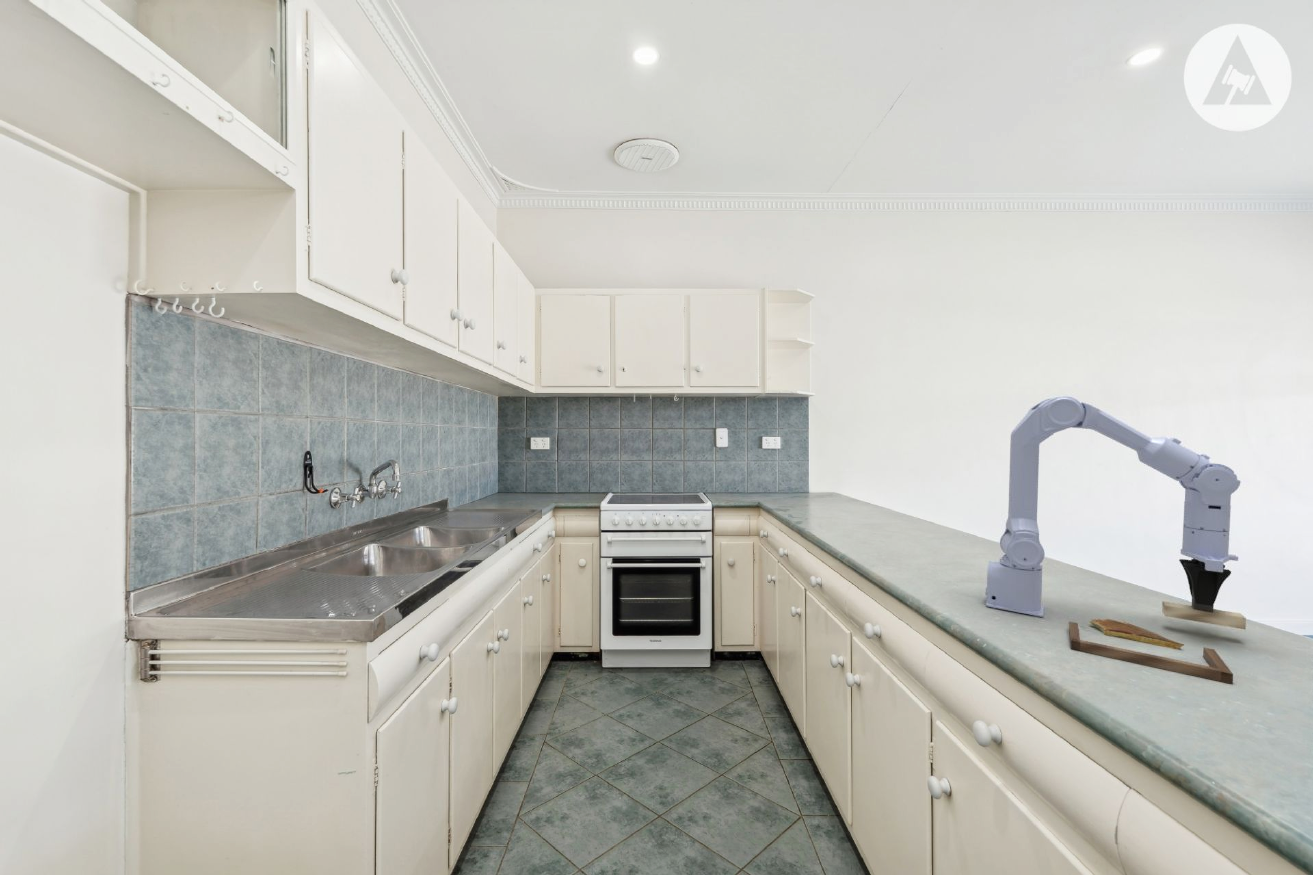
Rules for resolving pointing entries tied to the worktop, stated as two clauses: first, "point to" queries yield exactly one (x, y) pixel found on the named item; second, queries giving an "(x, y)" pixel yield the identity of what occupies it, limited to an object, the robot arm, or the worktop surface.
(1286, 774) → the worktop surface
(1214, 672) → the walnut frame
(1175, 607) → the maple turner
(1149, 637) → the shard
